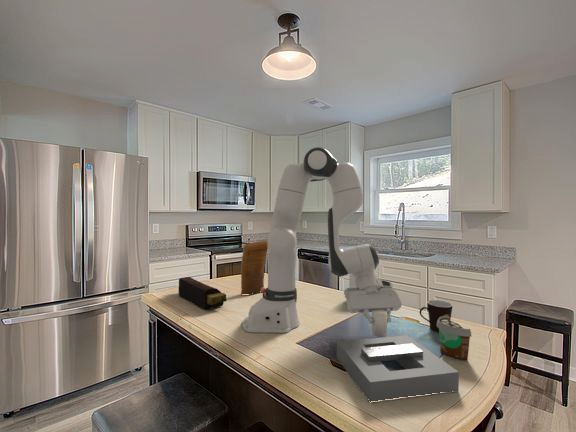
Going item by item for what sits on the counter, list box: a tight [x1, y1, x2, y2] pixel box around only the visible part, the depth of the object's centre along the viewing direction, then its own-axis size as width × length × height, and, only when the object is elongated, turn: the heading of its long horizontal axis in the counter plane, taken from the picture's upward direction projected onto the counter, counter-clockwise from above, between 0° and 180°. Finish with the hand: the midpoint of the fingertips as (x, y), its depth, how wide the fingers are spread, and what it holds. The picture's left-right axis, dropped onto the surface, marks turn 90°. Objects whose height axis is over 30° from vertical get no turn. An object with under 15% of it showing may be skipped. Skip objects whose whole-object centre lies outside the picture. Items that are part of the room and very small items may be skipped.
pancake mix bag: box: [240, 240, 268, 295], centre depth 161 cm, size 7×19×28 cm, turn 136°
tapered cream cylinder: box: [371, 309, 388, 338], centre depth 105 cm, size 5×5×8 cm
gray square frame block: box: [336, 335, 460, 403], centre depth 83 cm, size 24×22×5 cm
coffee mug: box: [419, 299, 454, 333], centre depth 114 cm, size 12×9×10 cm
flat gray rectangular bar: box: [361, 344, 423, 362], centre depth 83 cm, size 16×5×2 cm, turn 101°
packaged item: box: [178, 276, 227, 311], centre depth 147 cm, size 39×10×10 cm, turn 41°
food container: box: [437, 316, 472, 361], centre depth 95 cm, size 12×6×10 cm, turn 5°
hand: (380, 322), depth 105 cm, fingers closed on tapered cream cylinder, 5 cm apart
